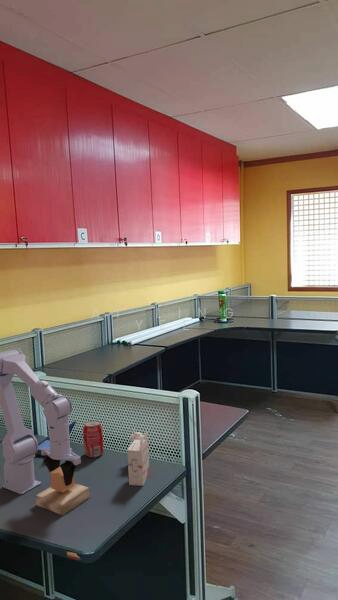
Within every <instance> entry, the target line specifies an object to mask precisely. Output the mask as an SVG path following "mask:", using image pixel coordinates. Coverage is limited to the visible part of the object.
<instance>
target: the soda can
mask: <svg viewBox="0 0 338 600" xmlns="http://www.w3.org/2000/svg"><path fill="white" fill-rule="evenodd" d="M103 431H104V430H103V425H102V424H101V421H99V420H95V419H94V420H89V421H85V423H84V426H83V429H82V432H83V433H82V434H83V451H84V455H85V456H87V457H89V458H92V457H94V458H98V457H100V456H101V455H102V454H103V453H104V432H103Z"/></svg>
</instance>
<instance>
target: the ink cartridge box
mask: <svg viewBox="0 0 338 600" xmlns="http://www.w3.org/2000/svg"><path fill="white" fill-rule="evenodd" d="M126 452H127V467H128V468H127V471H128V485H129V486H137V487H138V486H139V487H141V486H144V485H145V483H146V481H147V479H148V477H149V475H150V454H149V453H150V452H149V439H148V432H147V431H146V432H144V434H143V437H142V439H141V440H134V441H133V440H132V443H131V444H130V445H129V447H128V448H127V449H126Z"/></svg>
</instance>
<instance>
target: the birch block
mask: <svg viewBox="0 0 338 600" xmlns="http://www.w3.org/2000/svg"><path fill="white" fill-rule="evenodd" d="M88 499H90V487H88V486H85V485H82V484H79V483H76V482H75V485H74V486H73V487H71V488H69V489H68V490H66V491H65V492H60V491H57V490H54V489H51V486H49V487H48V488H46V489H44V490H43V491H40V492H39V493H37V494H36V495H35V501H36V503H35V504H36V506H38V507H40V508H42V509H43V508H44V509H45V510H49V511H51V512H54V513H56V514H59V515H61V516H64V515H66V514H68V512H71V511H72V510H73V509H74V508H76V507H77V506H79V505H81V504H82V503H84V502H85V501H87V500H88Z"/></svg>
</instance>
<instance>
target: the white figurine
mask: <svg viewBox="0 0 338 600" xmlns="http://www.w3.org/2000/svg"><path fill="white" fill-rule="evenodd" d="M130 431H131V432H132V433H133V434H131V435H130V436H129V442H130V443H131V442H133V441H134V440H141V439H142V437H143V436H144V434H142V433H141V432H140V431H137V432H136V430H135V429H133V428H130Z"/></svg>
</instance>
